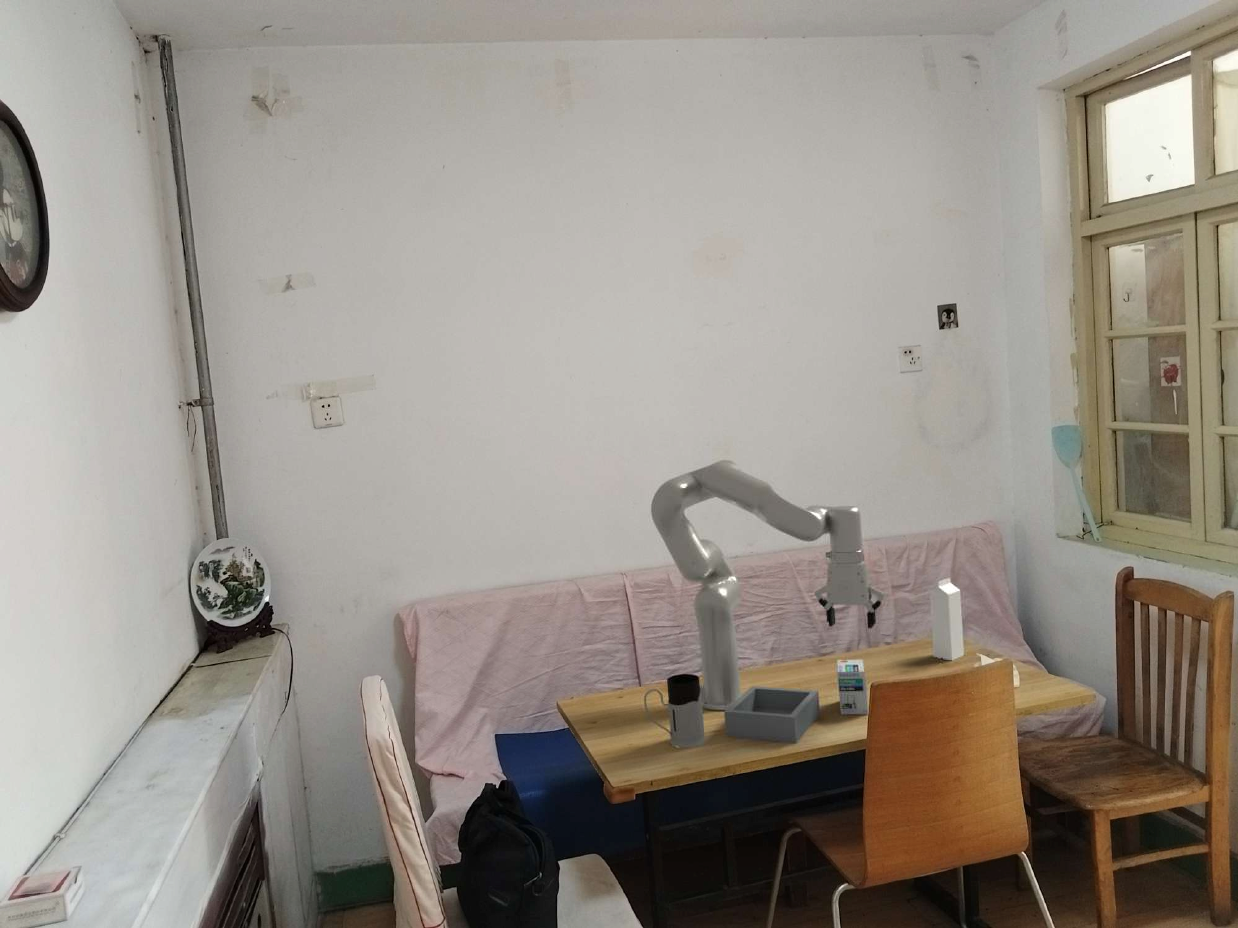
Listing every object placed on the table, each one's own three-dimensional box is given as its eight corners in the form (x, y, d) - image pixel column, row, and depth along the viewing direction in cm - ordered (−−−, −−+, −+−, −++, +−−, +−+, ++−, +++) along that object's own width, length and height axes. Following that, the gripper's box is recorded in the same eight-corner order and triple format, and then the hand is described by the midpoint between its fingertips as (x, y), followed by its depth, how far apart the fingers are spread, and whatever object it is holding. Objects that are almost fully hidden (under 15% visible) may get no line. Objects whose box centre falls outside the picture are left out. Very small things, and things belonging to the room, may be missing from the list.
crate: (726, 736, 232) (724, 711, 232) (753, 709, 249) (752, 686, 248) (796, 743, 224) (794, 717, 224) (819, 714, 241) (818, 690, 240)
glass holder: (712, 743, 228) (707, 680, 227) (654, 755, 224) (648, 690, 223) (698, 731, 237) (693, 670, 235) (642, 742, 233) (637, 680, 231)
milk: (933, 657, 279) (928, 580, 277) (945, 652, 283) (940, 576, 281) (952, 660, 274) (947, 582, 272) (964, 655, 278) (959, 578, 276)
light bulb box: (868, 714, 238) (865, 671, 237) (840, 715, 240) (837, 671, 239) (866, 700, 249) (863, 658, 248) (839, 700, 250) (836, 659, 249)
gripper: (807, 559, 241) (812, 628, 243) (878, 560, 233) (882, 632, 234) (817, 553, 248) (821, 620, 249) (886, 554, 239) (890, 624, 241)
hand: (851, 626), depth 242 cm, fingers open, 9 cm apart
